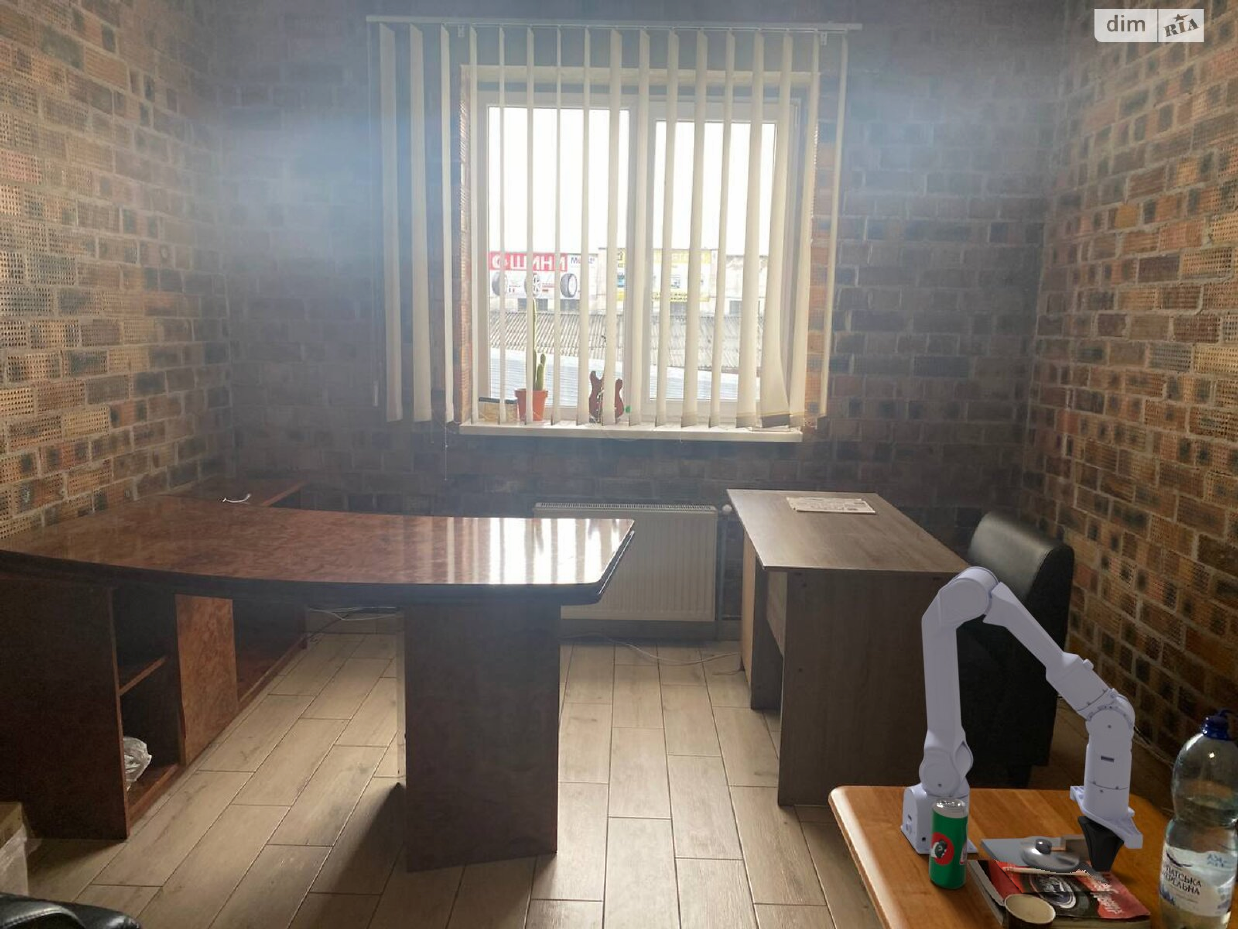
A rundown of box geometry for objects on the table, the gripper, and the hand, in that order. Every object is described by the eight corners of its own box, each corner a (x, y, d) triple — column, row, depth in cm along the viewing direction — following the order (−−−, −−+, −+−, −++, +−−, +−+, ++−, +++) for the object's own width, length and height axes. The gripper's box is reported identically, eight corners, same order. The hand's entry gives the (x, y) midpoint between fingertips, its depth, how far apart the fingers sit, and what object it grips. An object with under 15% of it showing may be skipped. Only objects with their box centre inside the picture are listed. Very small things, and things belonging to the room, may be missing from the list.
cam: (1037, 875, 130) (1038, 852, 130) (1010, 845, 138) (1011, 824, 138) (1131, 872, 131) (1132, 850, 131) (1099, 844, 139) (1100, 822, 139)
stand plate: (1021, 893, 128) (1022, 886, 128) (980, 845, 141) (980, 838, 141) (1109, 891, 128) (1110, 884, 128) (1060, 843, 141) (1061, 837, 141)
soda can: (968, 893, 128) (972, 813, 126) (931, 889, 129) (934, 809, 127) (961, 873, 133) (965, 797, 131) (926, 869, 134) (929, 793, 132)
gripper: (1167, 804, 121) (1159, 898, 123) (1104, 758, 136) (1098, 842, 137) (1116, 805, 121) (1110, 899, 122) (1059, 758, 135) (1053, 843, 137)
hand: (1100, 869), depth 130 cm, fingers closed
